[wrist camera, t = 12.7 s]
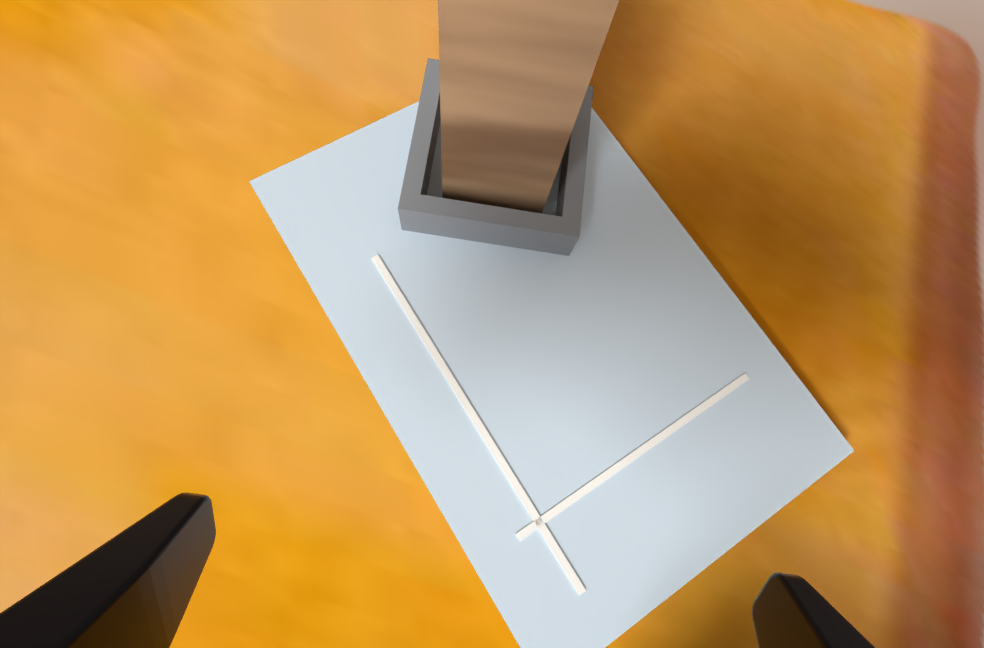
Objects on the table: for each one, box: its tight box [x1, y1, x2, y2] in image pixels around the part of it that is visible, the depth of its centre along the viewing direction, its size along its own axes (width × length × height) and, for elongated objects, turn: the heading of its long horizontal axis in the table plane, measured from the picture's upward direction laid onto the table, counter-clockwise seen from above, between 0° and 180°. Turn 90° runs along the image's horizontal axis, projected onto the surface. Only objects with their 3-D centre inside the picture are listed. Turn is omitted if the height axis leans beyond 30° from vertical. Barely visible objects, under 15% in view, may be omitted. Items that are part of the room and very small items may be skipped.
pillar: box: [438, 0, 619, 214], centre depth 19 cm, size 4×4×13 cm
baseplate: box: [249, 58, 854, 648], centre depth 23 cm, size 24×16×3 cm, turn 33°
